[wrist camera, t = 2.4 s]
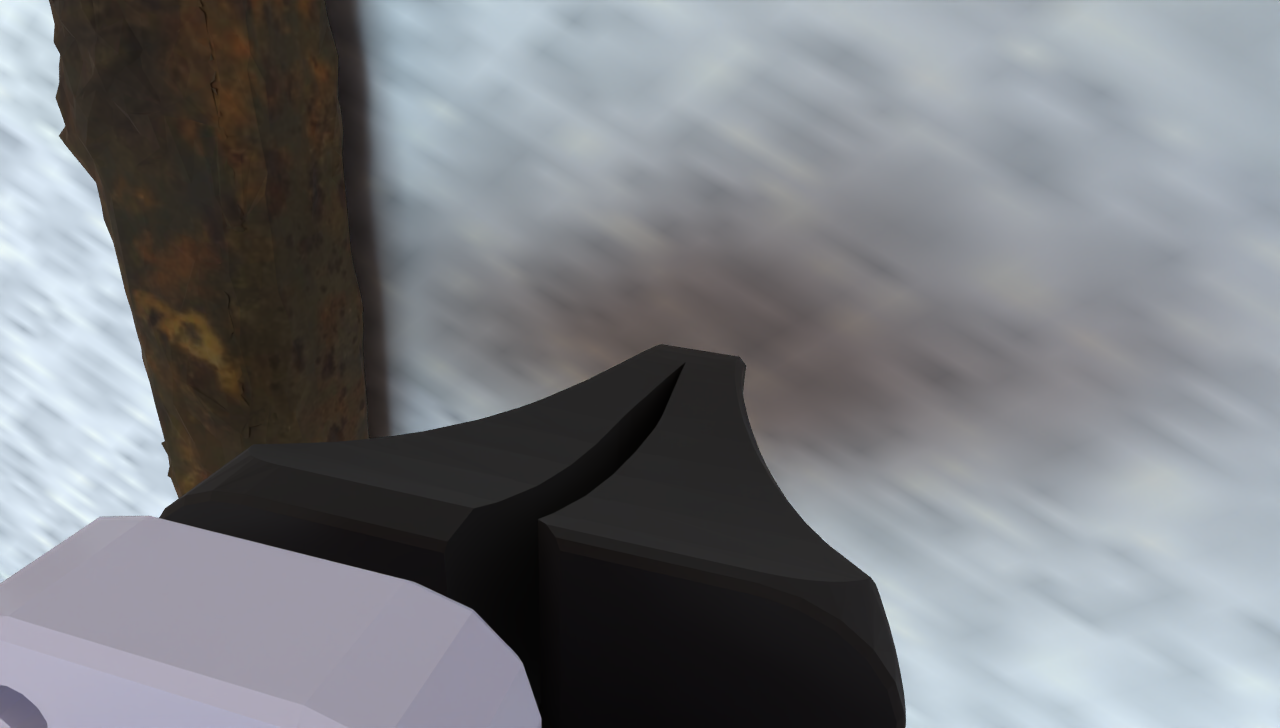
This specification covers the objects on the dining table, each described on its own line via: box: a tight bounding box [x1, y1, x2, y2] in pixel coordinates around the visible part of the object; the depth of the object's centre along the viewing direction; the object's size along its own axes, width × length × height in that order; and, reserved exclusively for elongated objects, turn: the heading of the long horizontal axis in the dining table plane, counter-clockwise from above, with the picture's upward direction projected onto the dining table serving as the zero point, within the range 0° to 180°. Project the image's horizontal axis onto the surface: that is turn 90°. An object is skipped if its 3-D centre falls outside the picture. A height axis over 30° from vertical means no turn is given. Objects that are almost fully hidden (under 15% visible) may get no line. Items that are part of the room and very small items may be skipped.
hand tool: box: [49, 0, 369, 498], centre depth 13 cm, size 19×4×5 cm, turn 175°
